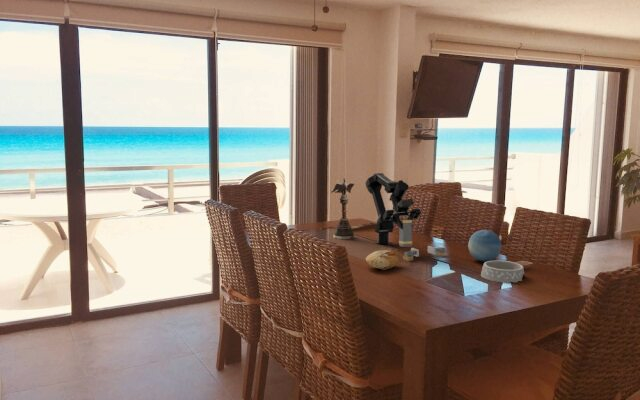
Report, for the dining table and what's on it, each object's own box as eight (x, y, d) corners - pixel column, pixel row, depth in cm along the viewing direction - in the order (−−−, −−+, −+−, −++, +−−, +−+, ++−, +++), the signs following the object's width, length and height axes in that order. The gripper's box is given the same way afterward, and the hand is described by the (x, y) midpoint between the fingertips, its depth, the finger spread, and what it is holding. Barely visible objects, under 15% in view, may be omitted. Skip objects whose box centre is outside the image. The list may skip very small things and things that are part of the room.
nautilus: (405, 264, 257) (415, 274, 243) (361, 263, 254) (368, 273, 239) (407, 247, 256) (417, 257, 241) (362, 246, 252) (370, 255, 238)
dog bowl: (527, 274, 238) (528, 262, 238) (519, 285, 223) (520, 272, 222) (487, 269, 247) (488, 257, 246) (476, 279, 231) (477, 266, 231)
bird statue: (327, 234, 323) (327, 174, 319) (348, 233, 326) (349, 174, 321) (333, 239, 307) (333, 177, 302) (355, 238, 310) (356, 177, 305)
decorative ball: (464, 262, 257) (465, 231, 255) (471, 256, 270) (472, 226, 268) (497, 266, 250) (499, 234, 248) (503, 259, 264) (504, 228, 261)
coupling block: (398, 245, 274) (398, 219, 274) (408, 245, 276) (407, 219, 275) (403, 246, 269) (402, 220, 269) (412, 246, 271) (412, 220, 270)
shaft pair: (400, 258, 265) (400, 249, 264) (439, 253, 275) (439, 244, 274) (407, 261, 260) (407, 251, 259) (446, 256, 270) (447, 246, 269)
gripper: (385, 193, 270) (394, 220, 262) (420, 192, 276) (430, 218, 267) (379, 207, 279) (387, 232, 270) (412, 205, 284) (421, 230, 276)
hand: (406, 228), depth 271 cm, fingers closed on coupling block, 5 cm apart
